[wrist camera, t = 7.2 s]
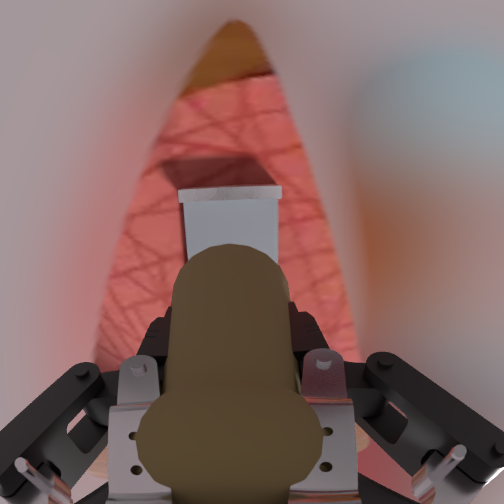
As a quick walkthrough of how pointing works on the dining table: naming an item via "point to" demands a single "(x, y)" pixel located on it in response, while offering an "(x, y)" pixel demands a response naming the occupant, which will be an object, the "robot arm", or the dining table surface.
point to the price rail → (230, 192)
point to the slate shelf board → (232, 225)
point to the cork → (230, 387)
